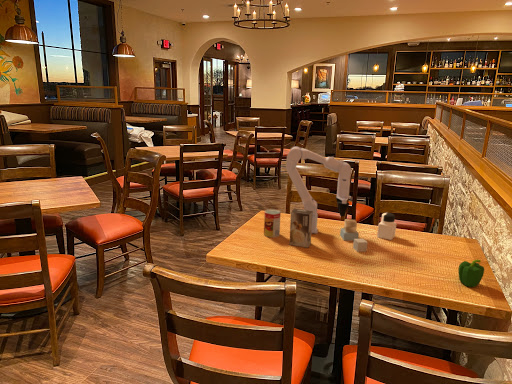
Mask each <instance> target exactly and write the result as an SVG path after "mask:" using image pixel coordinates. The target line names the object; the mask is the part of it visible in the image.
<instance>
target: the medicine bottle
mask: <svg viewBox="0 0 512 384" xmlns="http://www.w3.org/2000/svg"><path fill="white" fill-rule="evenodd" d="M395 219H396V215H395V214H393V213H390V212H384V213H382V214H381V221H380V222H379V223H378V225H377V235H376V237H377V238H380V239H384V240H389V241H393V239H394V238H395V236H396V229H397V222H395Z"/></svg>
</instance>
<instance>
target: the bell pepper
mask: <svg viewBox="0 0 512 384" xmlns="http://www.w3.org/2000/svg"><path fill="white" fill-rule="evenodd" d="M481 262H482V261H481V259H474V260H472V262H469V261H466V260H464V261H462V262H460V264H459V265H458V270H457V271H458V280H459V282H460V283H461V284H463V285H464V286H465V287H468V288H475V287H477V286H478V285H480V282H481V281H482V279H483V277H484V274H485V267H484V266H482V265H480V264H479V263H481Z"/></svg>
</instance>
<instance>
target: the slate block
mask: <svg viewBox="0 0 512 384" xmlns="http://www.w3.org/2000/svg"><path fill="white" fill-rule="evenodd" d="M339 233H340V234H339V236H340V238H341V239H342V240H343V241H345V242H346V241H353V242H354V239H359V234H360V233H359V232H358V231H357V230H356V233H350V232H345V230H344V227H343V228H342V227H341V228H340V232H339Z"/></svg>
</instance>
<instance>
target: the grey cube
mask: <svg viewBox="0 0 512 384" xmlns="http://www.w3.org/2000/svg"><path fill="white" fill-rule="evenodd" d="M352 245H353V246H352V249H354V251H356V252H357V253H359V252H367V250H368V241H367V240H365V239H364V238H358V239H354V241H353V242H352Z"/></svg>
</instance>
